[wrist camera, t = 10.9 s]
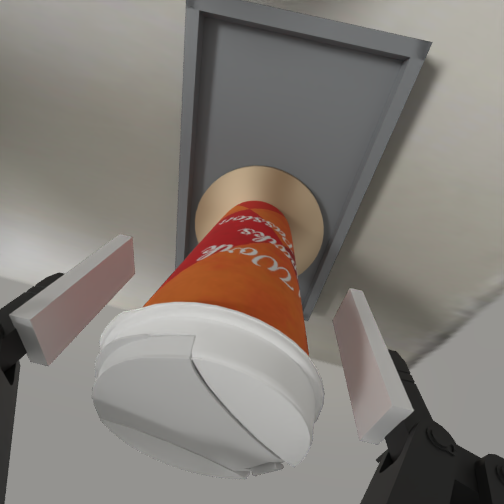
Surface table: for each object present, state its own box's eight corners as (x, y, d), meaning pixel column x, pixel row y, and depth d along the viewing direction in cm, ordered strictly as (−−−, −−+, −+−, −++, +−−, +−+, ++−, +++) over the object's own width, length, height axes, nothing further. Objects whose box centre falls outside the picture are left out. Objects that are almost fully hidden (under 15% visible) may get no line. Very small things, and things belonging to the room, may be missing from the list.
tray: (181, 277, 26) (174, 287, 25) (197, 0, 15) (186, -12, 14) (307, 308, 26) (308, 321, 24) (417, 49, 15) (432, 42, 13)
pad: (193, 266, 24) (190, 270, 24) (203, 150, 19) (200, 152, 18) (300, 292, 24) (300, 297, 23) (343, 183, 18) (345, 186, 18)
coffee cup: (325, 237, 20) (389, 461, 7) (255, 288, 24) (212, 498, 11) (253, 160, 18) (155, 280, 5) (189, 229, 21) (33, 403, 8)
